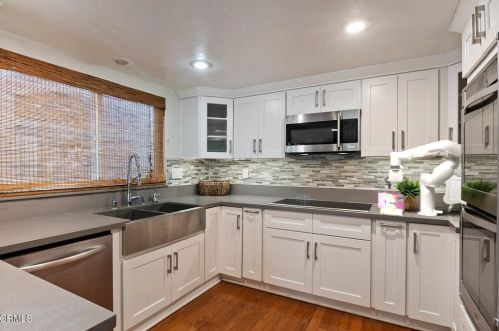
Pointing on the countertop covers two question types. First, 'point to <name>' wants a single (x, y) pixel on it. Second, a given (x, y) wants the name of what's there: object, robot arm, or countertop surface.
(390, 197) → the gum box
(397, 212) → the trap board
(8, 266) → the countertop surface
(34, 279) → the countertop surface
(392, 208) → the block
